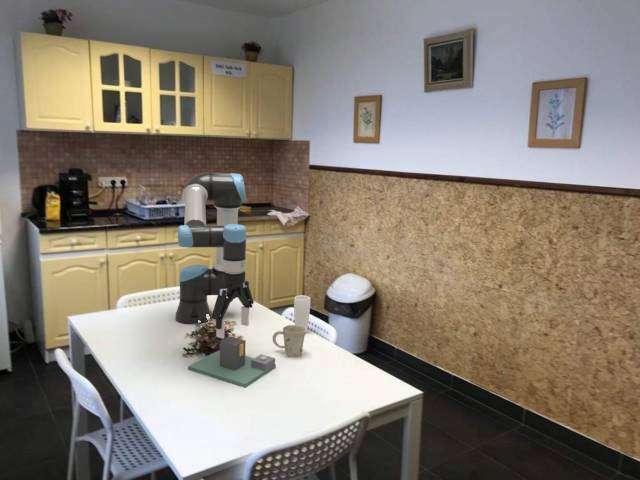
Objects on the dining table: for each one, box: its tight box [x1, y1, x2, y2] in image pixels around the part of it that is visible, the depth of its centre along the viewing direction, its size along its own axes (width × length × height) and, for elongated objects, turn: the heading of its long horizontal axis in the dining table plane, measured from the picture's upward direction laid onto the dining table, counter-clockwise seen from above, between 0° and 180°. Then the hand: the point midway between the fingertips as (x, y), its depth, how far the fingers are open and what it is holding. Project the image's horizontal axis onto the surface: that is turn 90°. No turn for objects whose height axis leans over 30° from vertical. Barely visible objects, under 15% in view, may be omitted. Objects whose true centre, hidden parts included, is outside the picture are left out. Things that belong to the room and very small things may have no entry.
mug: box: [271, 324, 306, 358], centre depth 193 cm, size 8×13×10 cm, turn 78°
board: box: [187, 349, 277, 388], centre depth 178 cm, size 24×18×4 cm
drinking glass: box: [293, 294, 311, 334], centre depth 215 cm, size 7×7×15 cm
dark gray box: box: [219, 335, 247, 370], centre depth 177 cm, size 7×6×9 cm
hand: (233, 331), depth 177 cm, fingers open, 13 cm apart
